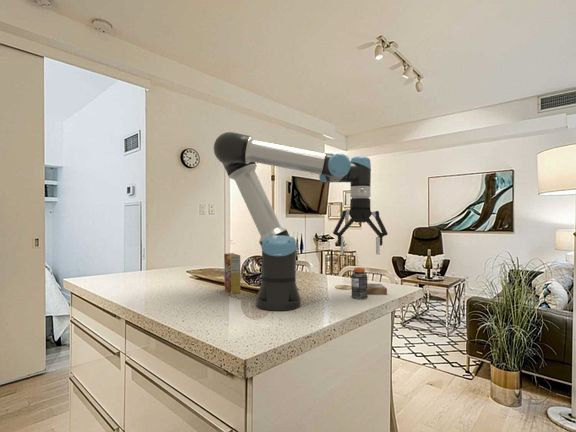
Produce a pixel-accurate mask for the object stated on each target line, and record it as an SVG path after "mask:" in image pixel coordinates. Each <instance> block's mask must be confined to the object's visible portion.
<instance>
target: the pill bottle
mask: <svg viewBox="0 0 576 432" xmlns="http://www.w3.org/2000/svg"><path fill="white" fill-rule="evenodd" d="M365 269H366V268H365V267H354V268H353V273H352V274H351V281H350V282H351V285H350V286H352V287H351V288H352V289H351V291H350V292H351V298H352V299H356V300H366V299H367V298H369V297H368V294H367V284H368V274H367V273H366V270H365Z"/></svg>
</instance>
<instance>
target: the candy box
mask: <svg viewBox="0 0 576 432" xmlns="http://www.w3.org/2000/svg"><path fill="white" fill-rule="evenodd" d="M223 257H224V258H223V259H224V260H223V261H224V266H223V267H224V290H225V291H226V292H228V293H229V294H230V295H236V294H237V295H238V294H241V255H240V254H236V253H233V252H232V253H230V252H228V253H224V255H223Z"/></svg>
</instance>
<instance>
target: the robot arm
mask: <svg viewBox="0 0 576 432" xmlns="http://www.w3.org/2000/svg"><path fill="white" fill-rule="evenodd" d="M213 152H214V156H215V158H216V159H217V160H218V161H219V162H220V163H221V164H222V165H223V167H224V170H225V171H226V173H227V176H228V178H229V179H231V180H233V181H235V184H236V187H237V188H238V190H239V192H240V194H241V196H242V199H243V201H244V203H245V206H246V207H247V210H248V212H249V214H250V216H251V218H252V220H253V223H254V225H255V227H256V228H257V231H258V234H259V236H260V238H259V240H258V243H259V245H260V247H261V283H260V286H259V290H258V293H257V296H256V301H255V302H256V303H255V305H256V307H257V308H259V309H262V310H267V311H275V312H276V311H277V312H278V311H279V312H281V311H290V310H291V311H292V310H295V309H299V308H300V307H301V305H302V304H301V296H300V291H299V289H298V287H297V280H296V279H297V278H296V277H297V272H296V271H297V270H296V269H297V268H296V267H297V263H296V261H297V256H298V255H297V254H298V252H297V240H296V239H295V237H293V236H290V234H289V232H288V230H287V228H284V227H282V225H281V224H280V222H279V220H278V218H277V215H276V213H275V211H274V209H273V206H272V204H271V203H270V200H269V198H268V196H267V194H266V192H265V190H264V188H263V185H262V183H261V182H260V181H261V180H260V179H259V177H258V175H257V173H256V169H257V164H262V165H267V166H272V167H277V168H284V169H290V170H293V171H299V172H303V173H309V174H310V173H311V174H316V175H318V178H319V181H320V182H322V183H349V185H350V191H349V192H350V194H349V195H350V202H349V205H350V206H349V207H350V208H349V210H342V211H341V215H340V218H339V220H338V222H337V224H336V226H335V228H334V230H333V231H332V234H333V235H334V236H336V237H337V245H338V246H340V248H339V249H340V250H339V251H340V254H341V255H344V238H345V237H344V236H343V235H344V233H345V232H346V231H347V230H348V229H349V227H351V225H352V224H353V223H361V224H362V223H363V224H364V223H367V225H368V226H369V227H370V228H371V229H372V231H373V232H374V233H375V234H376V236H375V254H376V255H380V253H381V252H380V251H381V249H380V248H381V246H383V238H384V237H385V236H388V234H389V233H388V231H387V229H386V227H385V225H384V223H383V220H382V219H381V217H380V212H379V210H375V211H372V210H371V182H372V181H371V178H372V174H371V173H372V165H371V164H372V163H371V159H370V158H369V157H367V156H353V157H352V158H349V157H348V156H347V155H346V154H344V153H336V154H333V153H332V154H331V153H326V152H320V151H315V150H310V149H305V148H299V147H295V146H294V147H293V146H289V145H283V144H279V143H272V142H268V141H261V140H257V139H255V138H254V136H251V135H247V134H242V133H238V132H234V131H233V132H232V131H228V132H224V133H222V134H220V135H219V136H217V138H216V139H215V141H214V144H213ZM256 163H257V164H256ZM347 216H350V219H349V220H348V222H347V223H345V225H344V226H343V227H342V228H341V226H342V224H343V222H344V221H345V219H346V217H347ZM371 216H373V218H374V219H375V222H376V223H377V225H378V227H379V228H378V227H377V226H376V225H375V224H374V222H372V219H370V218H371ZM340 228H341V229H340ZM379 229H380V230H379ZM339 230H340V231H339Z"/></svg>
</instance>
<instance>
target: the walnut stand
mask: <svg viewBox="0 0 576 432" xmlns="http://www.w3.org/2000/svg"><path fill="white" fill-rule="evenodd" d="M367 295H377V296H378V295H381V296H384V295H385V296H387V295H388V288H387V287H386V286H385V285H383V284H381V283H367Z"/></svg>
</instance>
